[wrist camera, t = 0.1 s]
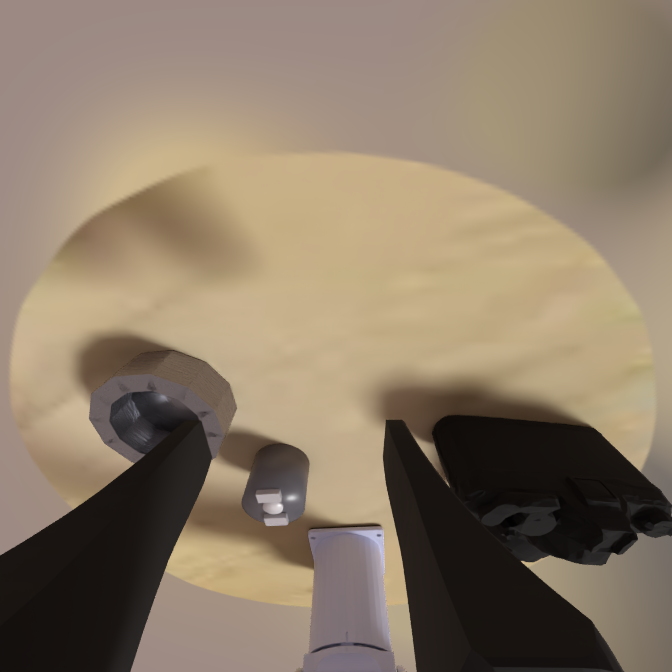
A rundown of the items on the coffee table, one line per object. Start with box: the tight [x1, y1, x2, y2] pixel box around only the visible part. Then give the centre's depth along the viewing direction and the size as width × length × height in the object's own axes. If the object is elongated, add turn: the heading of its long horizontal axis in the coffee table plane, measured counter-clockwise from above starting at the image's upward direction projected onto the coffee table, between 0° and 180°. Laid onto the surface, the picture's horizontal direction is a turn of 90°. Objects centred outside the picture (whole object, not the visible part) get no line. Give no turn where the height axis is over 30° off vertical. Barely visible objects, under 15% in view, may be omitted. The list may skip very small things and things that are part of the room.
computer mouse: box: [242, 444, 309, 526], centre depth 25 cm, size 5×5×4 cm
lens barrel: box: [89, 351, 237, 463], centre depth 22 cm, size 9×9×3 cm
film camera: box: [432, 415, 672, 565], centre depth 22 cm, size 15×10×9 cm, turn 83°
